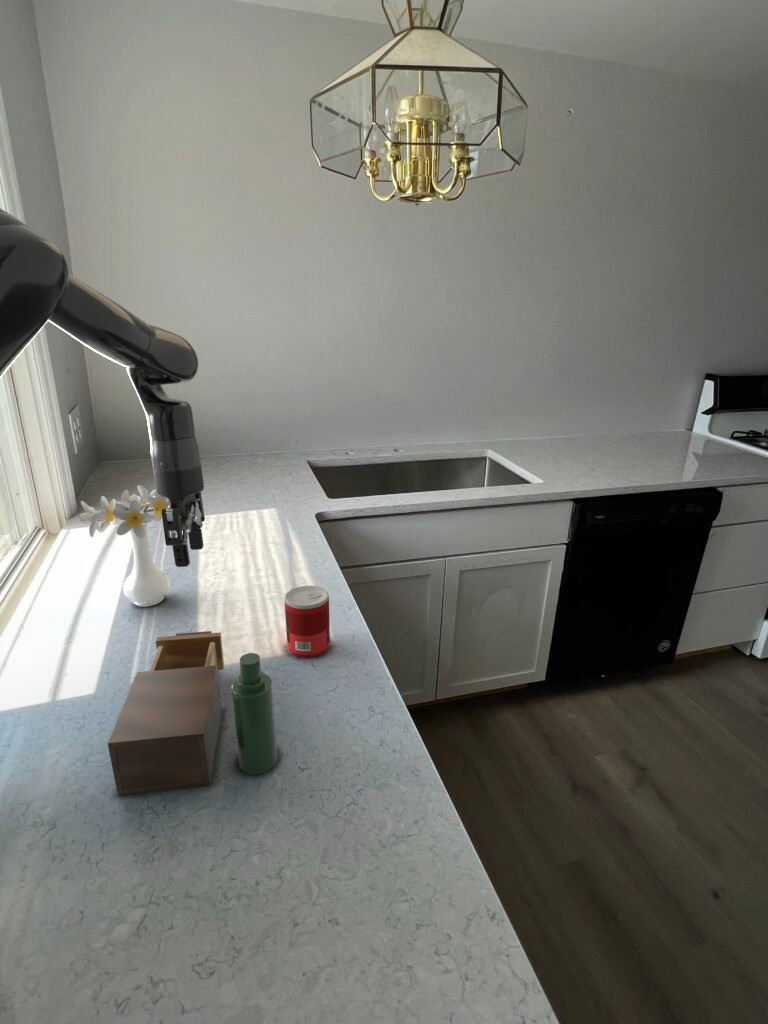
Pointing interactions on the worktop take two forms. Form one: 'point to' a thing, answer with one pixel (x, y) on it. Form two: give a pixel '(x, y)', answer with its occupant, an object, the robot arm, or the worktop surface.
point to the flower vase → (134, 541)
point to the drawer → (189, 651)
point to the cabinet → (167, 730)
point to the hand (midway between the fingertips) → (190, 557)
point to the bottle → (254, 717)
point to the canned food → (307, 621)
